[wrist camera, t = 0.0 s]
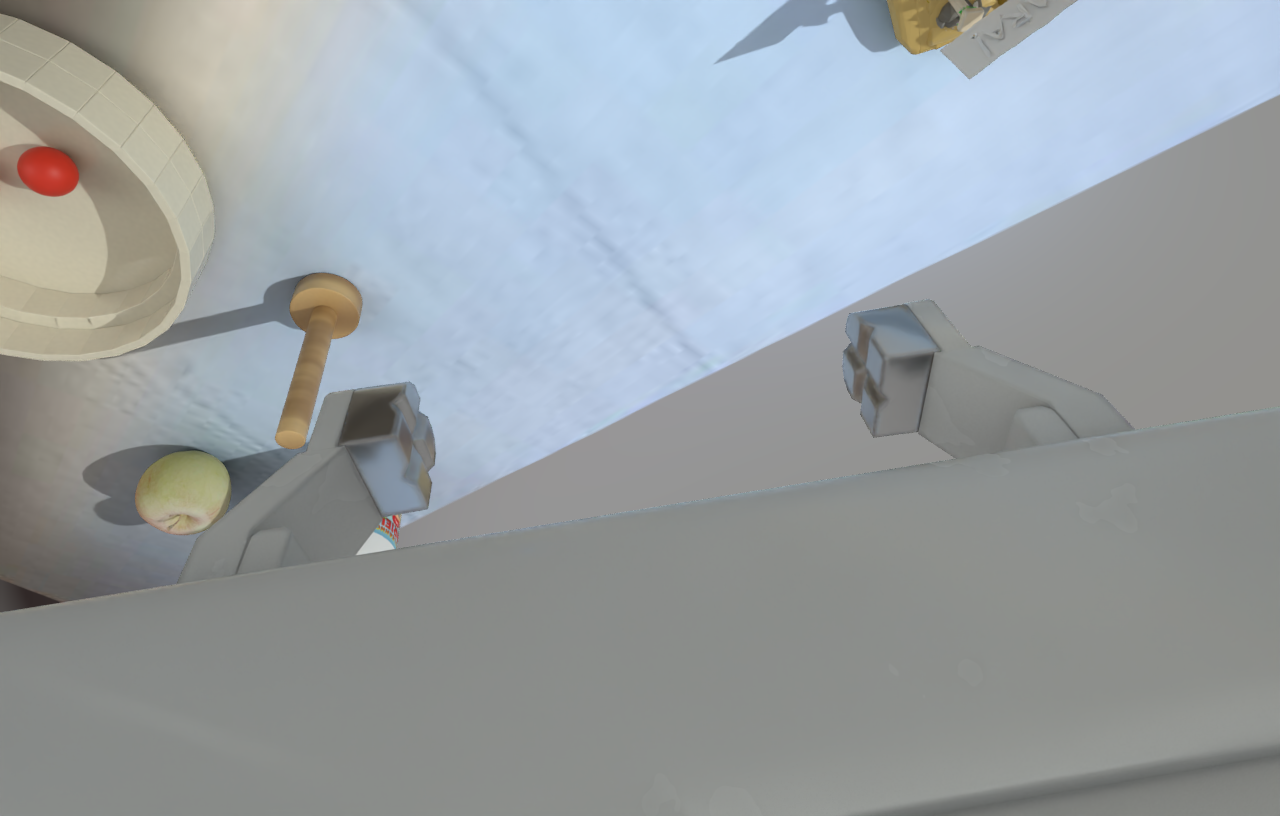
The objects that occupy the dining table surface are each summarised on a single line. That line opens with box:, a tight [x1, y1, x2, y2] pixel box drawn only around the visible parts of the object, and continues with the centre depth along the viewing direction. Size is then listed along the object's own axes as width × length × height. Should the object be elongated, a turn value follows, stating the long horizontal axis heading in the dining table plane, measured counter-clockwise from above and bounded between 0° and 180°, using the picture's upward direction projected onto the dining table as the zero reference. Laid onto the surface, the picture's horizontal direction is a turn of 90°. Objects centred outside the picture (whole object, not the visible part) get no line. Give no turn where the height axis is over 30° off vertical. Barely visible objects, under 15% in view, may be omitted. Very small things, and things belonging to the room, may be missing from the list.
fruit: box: [135, 451, 231, 535], centre depth 66 cm, size 8×7×8 cm
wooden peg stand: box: [275, 273, 362, 449], centre depth 52 cm, size 5×5×15 cm
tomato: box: [17, 146, 79, 197], centre depth 45 cm, size 3×3×3 cm
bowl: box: [0, 14, 215, 361], centre depth 45 cm, size 21×21×6 cm
